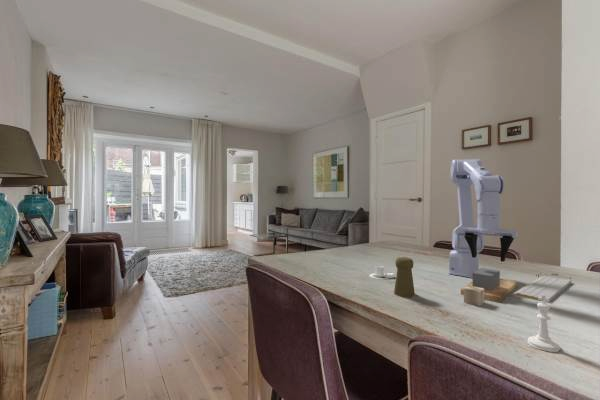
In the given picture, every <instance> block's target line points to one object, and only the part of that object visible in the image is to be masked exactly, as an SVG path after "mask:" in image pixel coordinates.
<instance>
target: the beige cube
mask: <svg viewBox="0 0 600 400" xmlns="http://www.w3.org/2000/svg"><path fill="white" fill-rule="evenodd" d="M467 285H468V284H467ZM467 285H466V286H467ZM464 287H465V286H464ZM464 287H463V288H464ZM463 303H465V304H468V305H469V304H470V305H473V306H477V307H478V306H479V307H481V306H482V305H483V304H485V299H484V288H479V287H474V286H469V285H468V286H467V287H465V288H464V295H463Z"/></svg>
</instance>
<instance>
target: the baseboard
mask: <svg viewBox="0 0 600 400" xmlns="http://www.w3.org/2000/svg"><path fill="white" fill-rule="evenodd" d="M542 274H543V273H542V272H540V273H539V274H537V277H536V279H534V280H533V281H531V282H529V283H527V284H526V285H524V286H523V287H522V288H519V289H518V290H516V291H514V292H513V293H512V294H511V295H512V296H515V297H521V298H525V299H530V300H535V301H539V302H542V300H539V299H538V297H542V295H546V297H545V298H546V299H549V302H546V301H545V303H547V304H549V303H550V302H551V301H552V300H554V298H555V297H557V296H558V295H559V294H560V293H561V292H563V291H564V290H565V289H566V288H568V287H569V286H570V285H571V284H572V280H571V279H572V277H569V279H567V278H568V277H567V276H565V278H566V279H565V278H559V277H562V276H561V275H559V274H558V273H551V274H550V276H547V275H549V274H547V273H546V275H543V276H540V275H542ZM553 276H557V277H553Z"/></svg>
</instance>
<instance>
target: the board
mask: <svg viewBox="0 0 600 400" xmlns="http://www.w3.org/2000/svg"><path fill="white" fill-rule="evenodd" d="M468 285H469V286H472V282H470V283H469V284H467V285H465V286H463V287H462V288H460V294H461V295H463V296H464V288H465V287H467V286H468ZM517 287H518V281H515V280H509V279H503V278H500V287H499V288H497V289H496V290H495V291H494V292H493V293H488V292H484V300H486V301H491V302H495V303H501V302H502V301H503V300H504V299H506V297H507V296H509V294H511V292H513V291H514V290H515V289H516V288H517Z"/></svg>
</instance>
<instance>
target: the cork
mask: <svg viewBox="0 0 600 400" xmlns="http://www.w3.org/2000/svg"><path fill="white" fill-rule="evenodd" d="M394 263H395V267H396V274H395V275H396V276H395V282H394V291H393V294H394V295H395V296H398V297H401V298H412V297H415V296H416V294H415V293H416V292H415V286H414V285H415V283H414V278H413V272H412V270H413V267H414V261H413V259H412V258H410V257H405V256H402V257H400V256H399V257H397V258H396V260H395V262H394Z"/></svg>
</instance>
